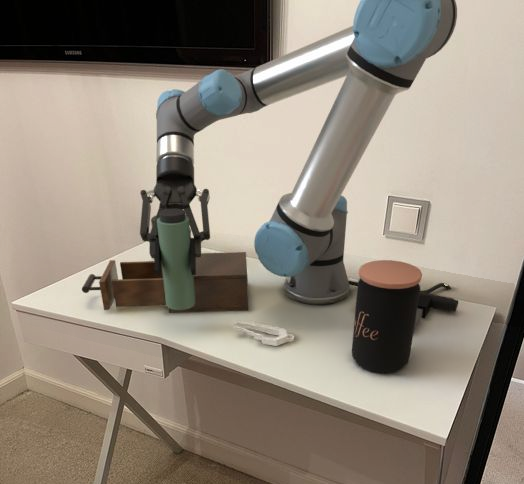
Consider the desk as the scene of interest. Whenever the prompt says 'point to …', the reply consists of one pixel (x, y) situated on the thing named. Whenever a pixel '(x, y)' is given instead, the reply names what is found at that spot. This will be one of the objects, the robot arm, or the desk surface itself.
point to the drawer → (129, 285)
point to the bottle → (176, 258)
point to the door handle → (433, 304)
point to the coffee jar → (385, 315)
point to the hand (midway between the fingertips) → (175, 272)
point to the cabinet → (220, 283)
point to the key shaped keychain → (265, 328)
